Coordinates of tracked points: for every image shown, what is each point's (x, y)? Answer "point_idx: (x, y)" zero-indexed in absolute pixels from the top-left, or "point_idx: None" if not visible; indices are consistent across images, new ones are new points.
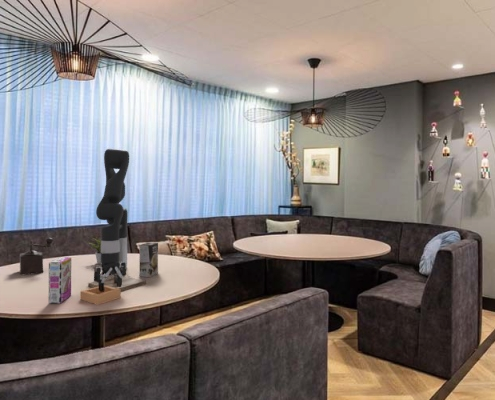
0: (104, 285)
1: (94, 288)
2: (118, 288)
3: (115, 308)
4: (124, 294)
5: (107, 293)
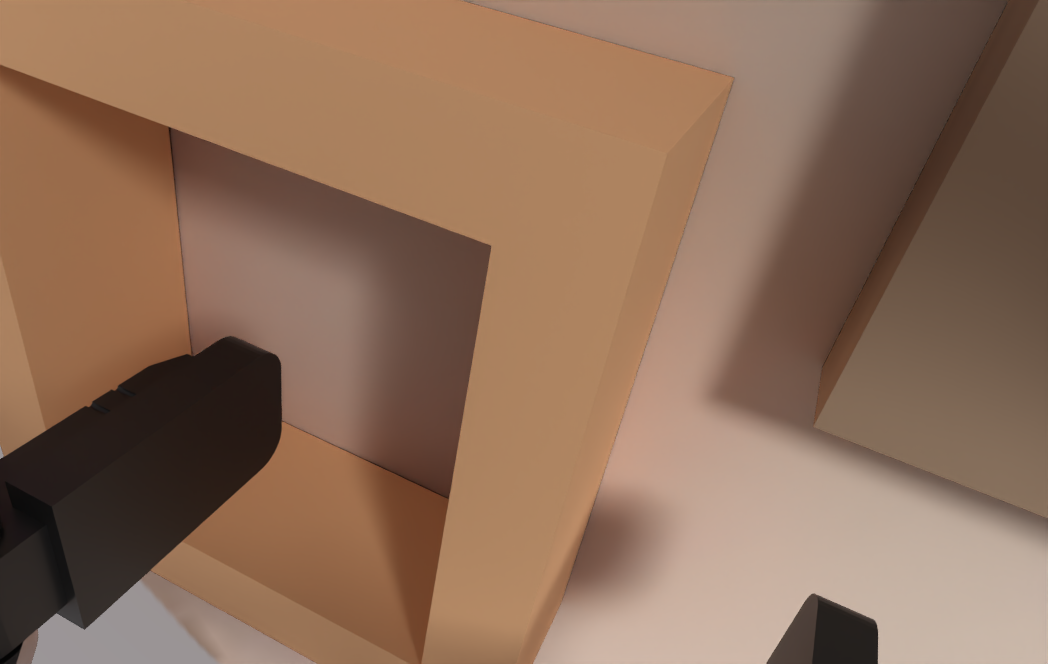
0: (618, 230)
1: (192, 119)
2: (1011, 500)
3: (213, 643)
4: (779, 621)
5: (202, 585)
